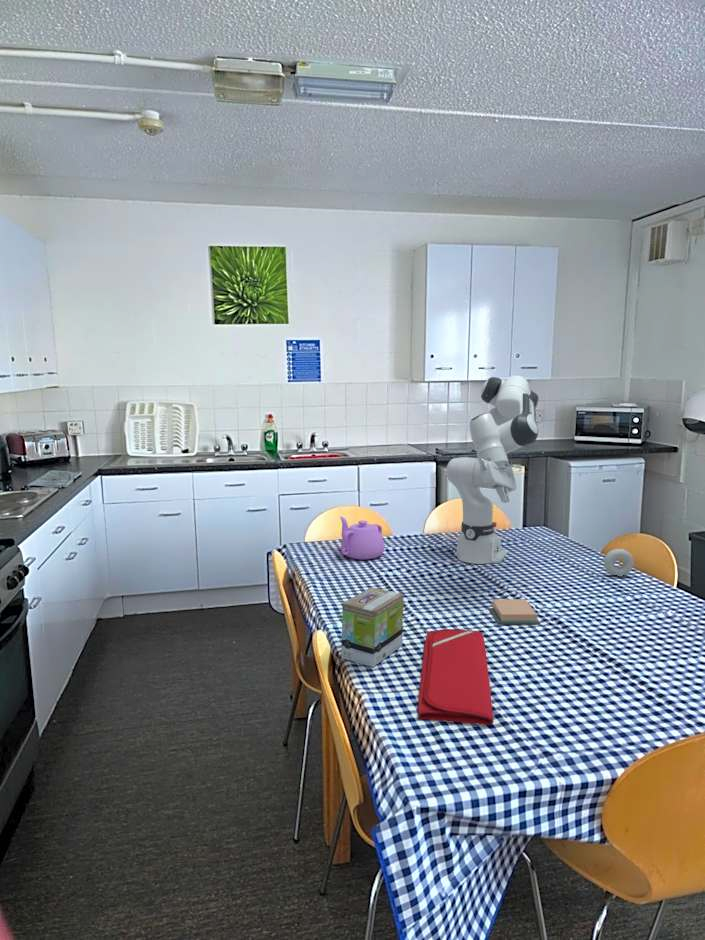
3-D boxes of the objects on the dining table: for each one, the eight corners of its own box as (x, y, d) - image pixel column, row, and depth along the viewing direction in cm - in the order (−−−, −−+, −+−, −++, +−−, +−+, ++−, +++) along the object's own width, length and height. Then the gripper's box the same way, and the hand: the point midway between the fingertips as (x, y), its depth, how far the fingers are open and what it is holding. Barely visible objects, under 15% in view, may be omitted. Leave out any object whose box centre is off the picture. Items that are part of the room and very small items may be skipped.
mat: (489, 609, 190) (489, 608, 190) (529, 609, 190) (529, 607, 190) (497, 624, 179) (497, 622, 179) (539, 624, 179) (539, 622, 179)
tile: (492, 599, 190) (501, 614, 179) (525, 599, 190) (536, 614, 179) (492, 606, 191) (501, 622, 179) (525, 606, 191) (536, 622, 179)
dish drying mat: (416, 721, 131) (416, 704, 130) (425, 639, 171) (425, 626, 170) (493, 728, 128) (494, 711, 128) (484, 643, 168) (484, 630, 168)
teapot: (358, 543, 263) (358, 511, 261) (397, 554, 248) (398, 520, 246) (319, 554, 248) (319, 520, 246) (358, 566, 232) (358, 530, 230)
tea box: (375, 668, 153) (375, 610, 150) (340, 659, 158) (340, 602, 156) (403, 646, 165) (404, 592, 163) (370, 637, 171) (370, 585, 168)
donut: (604, 577, 220) (606, 549, 218) (601, 574, 223) (603, 547, 221) (634, 578, 219) (636, 550, 217) (631, 575, 222) (632, 547, 220)
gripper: (490, 452, 191) (503, 494, 187) (513, 462, 208) (525, 501, 203) (471, 459, 194) (483, 501, 190) (495, 469, 211) (507, 507, 206)
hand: (505, 501), depth 197 cm, fingers closed
